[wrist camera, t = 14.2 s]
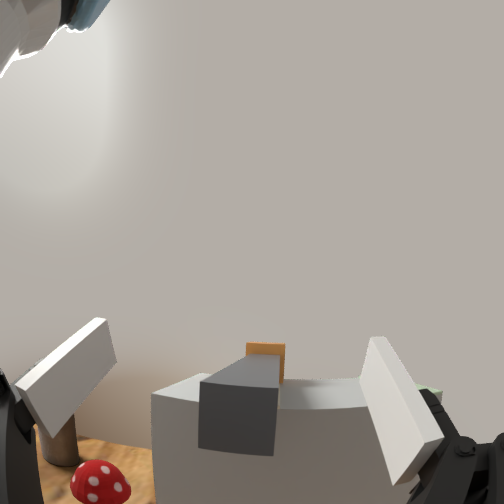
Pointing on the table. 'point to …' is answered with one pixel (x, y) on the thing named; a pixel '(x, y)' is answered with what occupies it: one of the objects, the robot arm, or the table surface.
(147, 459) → the table surface
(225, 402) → the handle
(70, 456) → the pillar candle
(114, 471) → the decorative mushroom
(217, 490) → the breaker panel
